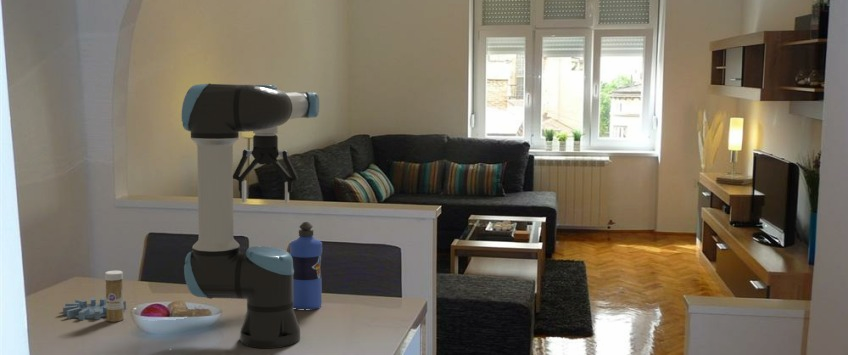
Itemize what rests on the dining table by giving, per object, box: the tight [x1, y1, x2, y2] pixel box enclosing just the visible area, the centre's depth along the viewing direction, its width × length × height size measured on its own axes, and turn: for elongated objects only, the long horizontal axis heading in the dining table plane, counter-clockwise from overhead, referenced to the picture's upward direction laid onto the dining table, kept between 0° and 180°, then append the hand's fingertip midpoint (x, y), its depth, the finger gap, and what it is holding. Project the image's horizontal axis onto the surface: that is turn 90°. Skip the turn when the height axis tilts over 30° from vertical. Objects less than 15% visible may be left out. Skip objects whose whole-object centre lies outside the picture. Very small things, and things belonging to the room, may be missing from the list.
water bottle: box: [289, 221, 323, 310], centre depth 235 cm, size 9×9×25 cm
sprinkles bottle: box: [104, 270, 124, 323], centre depth 219 cm, size 5×5×13 cm
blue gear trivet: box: [62, 296, 127, 321], centre depth 227 cm, size 16×16×2 cm
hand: (265, 202), depth 252 cm, fingers open, 13 cm apart
